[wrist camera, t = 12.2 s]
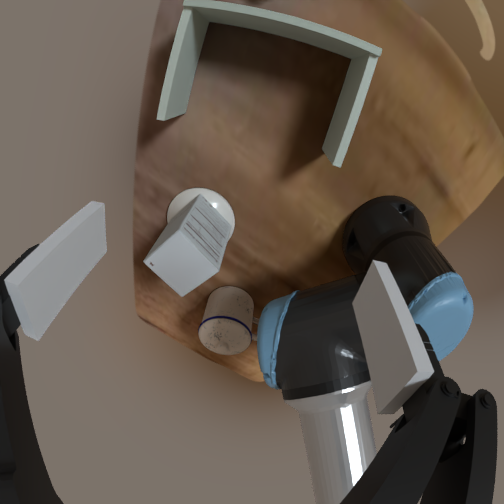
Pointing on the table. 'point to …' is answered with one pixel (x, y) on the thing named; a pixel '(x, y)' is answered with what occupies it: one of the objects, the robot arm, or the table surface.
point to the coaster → (210, 195)
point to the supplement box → (190, 246)
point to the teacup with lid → (228, 321)
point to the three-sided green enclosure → (205, 10)
